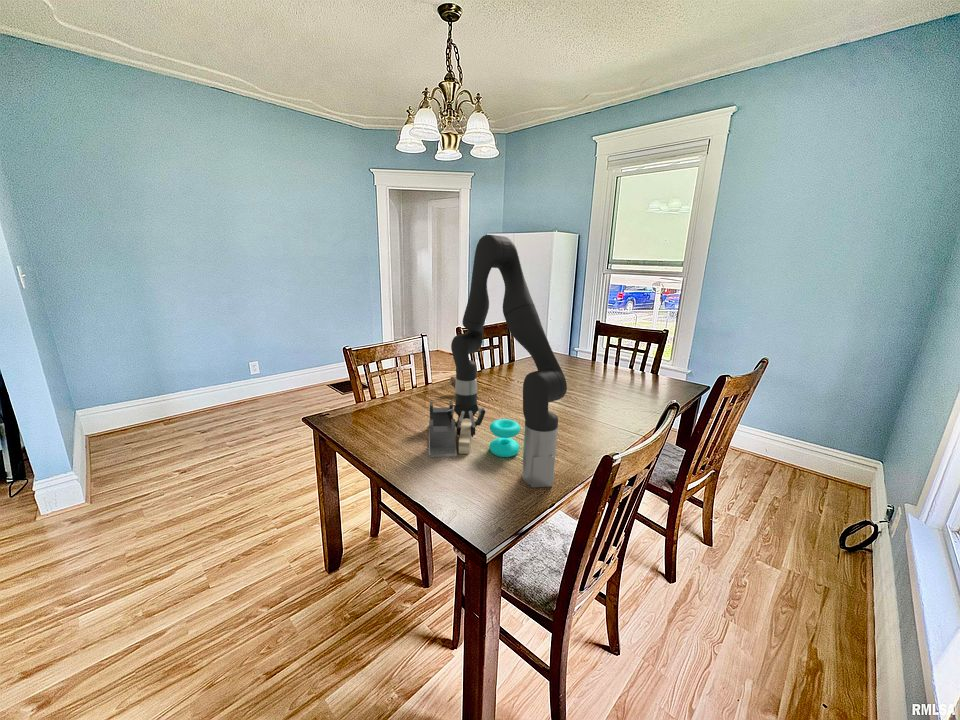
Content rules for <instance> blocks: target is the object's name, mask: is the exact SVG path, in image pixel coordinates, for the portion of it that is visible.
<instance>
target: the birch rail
mask: <svg viewBox="0 0 960 720" xmlns="http://www.w3.org/2000/svg"><path fill="white" fill-rule="evenodd" d="M471 425H472V423H471V419H467V418H466V419H463V420H462V423H461V431H460V437H458V454H462V455H463V454H464V455H465V454H467V455H470V451H471V450H470V449H471V442H472V441H471V440H472V437H471Z"/></svg>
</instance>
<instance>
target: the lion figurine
mask: <svg viewBox="0 0 960 720" xmlns="http://www.w3.org/2000/svg"><path fill="white" fill-rule="evenodd" d="M448 383H449V385H450V386H451V387H452V388H453V389H455V383H456V375H452V376H450V380H449V382H448ZM479 398H480V397H479V396H477V399H479Z"/></svg>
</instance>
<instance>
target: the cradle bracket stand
mask: <svg viewBox="0 0 960 720" xmlns="http://www.w3.org/2000/svg"><path fill="white" fill-rule="evenodd" d="M453 408H454V403H453V400H449V401H448V407H434V401H429V421H428V422H429V424H428V427H429V429H428V458H441V457H442V458H447V457H457V456H458V453H457V452H458V451H457V445H456V427H455V422H456V419H455V418H454V419H451V422H450V419H449V417H448V414H447V409H453Z"/></svg>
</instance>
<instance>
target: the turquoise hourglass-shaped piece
mask: <svg viewBox="0 0 960 720" xmlns="http://www.w3.org/2000/svg"><path fill="white" fill-rule="evenodd" d="M489 429H490V430H489V431H490V432H491V433H492V435H494V436H496V438H494V439H493V440H491V441H490V444H489V446H488V447H489V451H490V453H492V454H493V455H494V456H497V457H500V458H510V457H514V456H515V455H517V454H518V453H519V450H520V445H519V443H518V442H517V441H516V440H515V439H513V438H514V437H516V436H517V435H519V433H520V431H521V426H520V424H519V423H518V422H517V421H516V420H513V419H508V418H499V419H495V420H494V421H491V423H490V425H489Z"/></svg>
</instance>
